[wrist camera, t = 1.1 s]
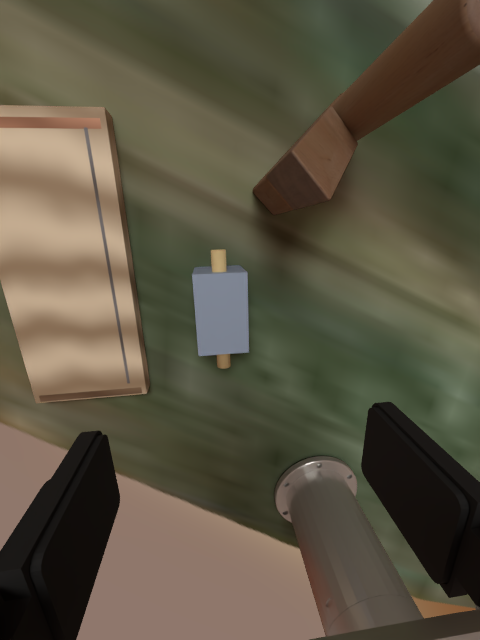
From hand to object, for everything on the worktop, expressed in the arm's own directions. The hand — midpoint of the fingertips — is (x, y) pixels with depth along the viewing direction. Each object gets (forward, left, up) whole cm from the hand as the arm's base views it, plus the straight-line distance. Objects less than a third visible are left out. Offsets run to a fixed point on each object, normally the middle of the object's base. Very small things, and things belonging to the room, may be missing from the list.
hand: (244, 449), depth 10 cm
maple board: (+4, +15, -23) cm, 28 cm away
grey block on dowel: (0, 0, -23) cm, 23 cm away
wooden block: (+14, -9, -23) cm, 29 cm away
